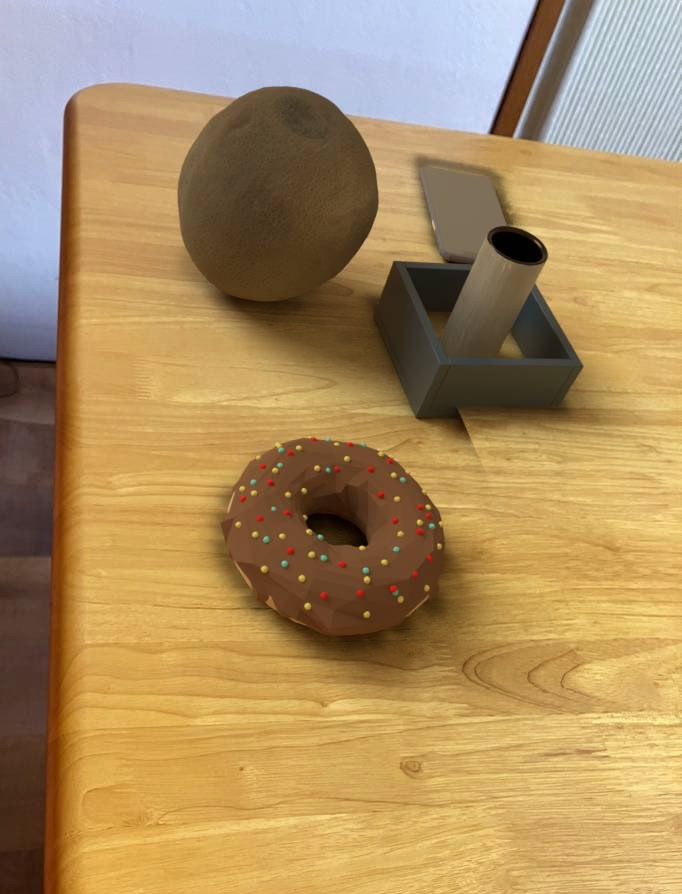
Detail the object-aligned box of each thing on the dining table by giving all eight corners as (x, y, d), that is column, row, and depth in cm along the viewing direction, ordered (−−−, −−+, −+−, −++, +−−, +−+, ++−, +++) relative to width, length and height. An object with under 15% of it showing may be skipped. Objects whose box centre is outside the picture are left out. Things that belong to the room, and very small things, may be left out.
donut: (241, 451, 59) (255, 397, 56) (435, 505, 60) (462, 455, 56) (192, 625, 50) (204, 575, 47) (421, 685, 51) (452, 641, 47)
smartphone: (491, 176, 88) (523, 266, 79) (488, 185, 89) (518, 275, 79) (419, 163, 86) (442, 253, 77) (416, 172, 87) (439, 262, 78)
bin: (499, 319, 75) (526, 266, 71) (551, 417, 68) (584, 366, 64) (373, 315, 72) (393, 260, 68) (415, 418, 65) (440, 364, 61)
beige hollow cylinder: (432, 365, 68) (484, 251, 60) (439, 330, 71) (490, 217, 63) (488, 383, 68) (547, 272, 60) (493, 348, 71) (550, 237, 63)
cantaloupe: (194, 349, 65) (227, 158, 53) (150, 232, 72) (171, 43, 61) (366, 340, 69) (431, 163, 58) (308, 232, 77) (356, 56, 65)
